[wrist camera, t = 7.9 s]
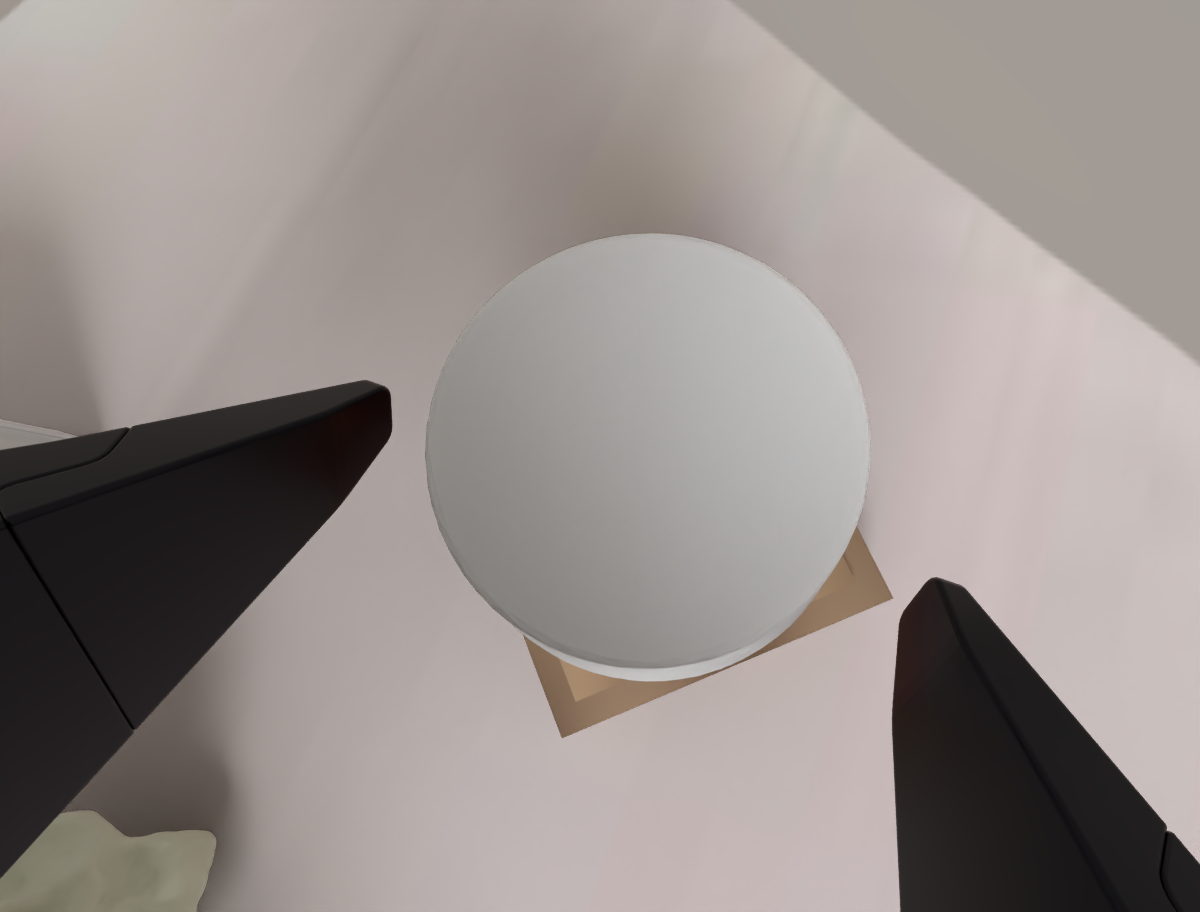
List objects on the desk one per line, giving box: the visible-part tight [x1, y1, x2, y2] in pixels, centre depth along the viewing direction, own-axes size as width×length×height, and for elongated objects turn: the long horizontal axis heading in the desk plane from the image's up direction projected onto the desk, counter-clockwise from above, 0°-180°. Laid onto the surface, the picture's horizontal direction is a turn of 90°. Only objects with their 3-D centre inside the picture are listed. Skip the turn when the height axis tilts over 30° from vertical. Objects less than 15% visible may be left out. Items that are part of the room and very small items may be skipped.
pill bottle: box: [425, 233, 871, 682], centre depth 11 cm, size 6×6×11 cm
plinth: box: [523, 526, 893, 738], centre depth 18 cm, size 10×10×3 cm
